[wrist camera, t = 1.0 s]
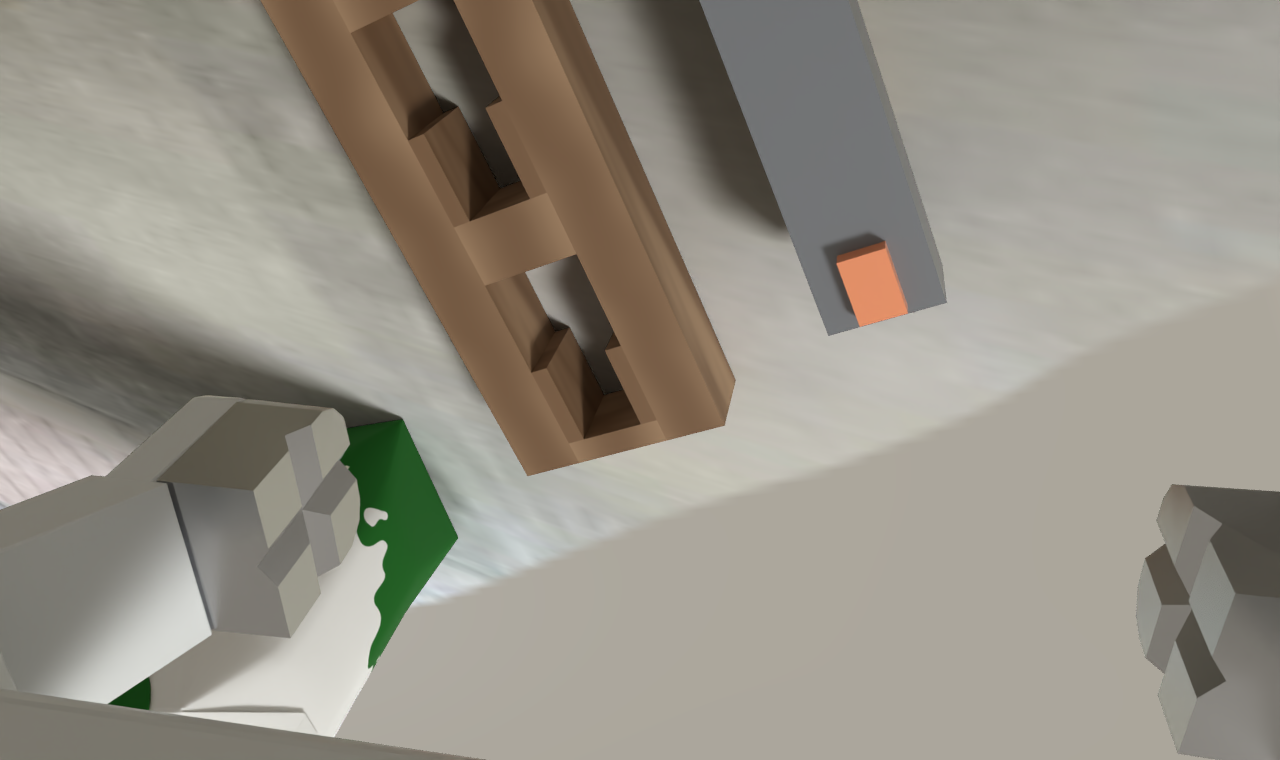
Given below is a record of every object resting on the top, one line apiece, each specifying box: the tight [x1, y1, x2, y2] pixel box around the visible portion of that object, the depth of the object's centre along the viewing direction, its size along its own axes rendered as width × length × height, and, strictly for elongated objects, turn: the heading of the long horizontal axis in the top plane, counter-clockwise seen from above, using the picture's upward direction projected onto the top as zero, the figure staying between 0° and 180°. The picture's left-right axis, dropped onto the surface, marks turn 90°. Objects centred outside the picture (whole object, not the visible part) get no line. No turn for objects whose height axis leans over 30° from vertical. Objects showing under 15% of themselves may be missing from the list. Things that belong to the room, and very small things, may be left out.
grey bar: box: [699, 0, 947, 336], centre depth 33 cm, size 4×16×6 cm, turn 24°
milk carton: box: [108, 419, 458, 737], centre depth 42 cm, size 9×9×20 cm
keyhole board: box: [261, 0, 736, 476], centre depth 39 cm, size 9×21×4 cm, turn 24°
